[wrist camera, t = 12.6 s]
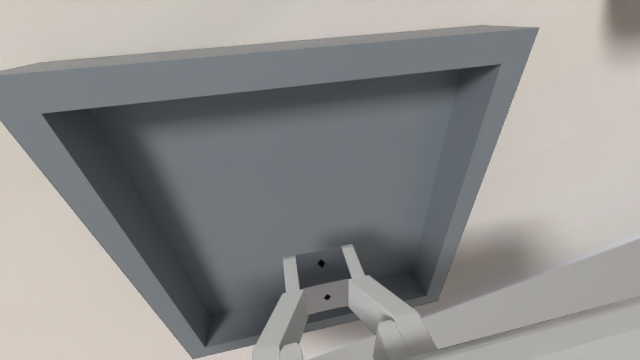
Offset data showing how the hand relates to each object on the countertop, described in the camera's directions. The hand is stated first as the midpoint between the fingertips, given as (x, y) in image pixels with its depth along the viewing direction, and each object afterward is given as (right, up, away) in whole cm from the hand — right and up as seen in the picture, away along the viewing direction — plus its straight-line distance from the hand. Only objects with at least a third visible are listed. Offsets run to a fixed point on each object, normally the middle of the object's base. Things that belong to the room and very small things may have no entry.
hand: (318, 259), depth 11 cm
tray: (-1, +2, +3) cm, 3 cm away
